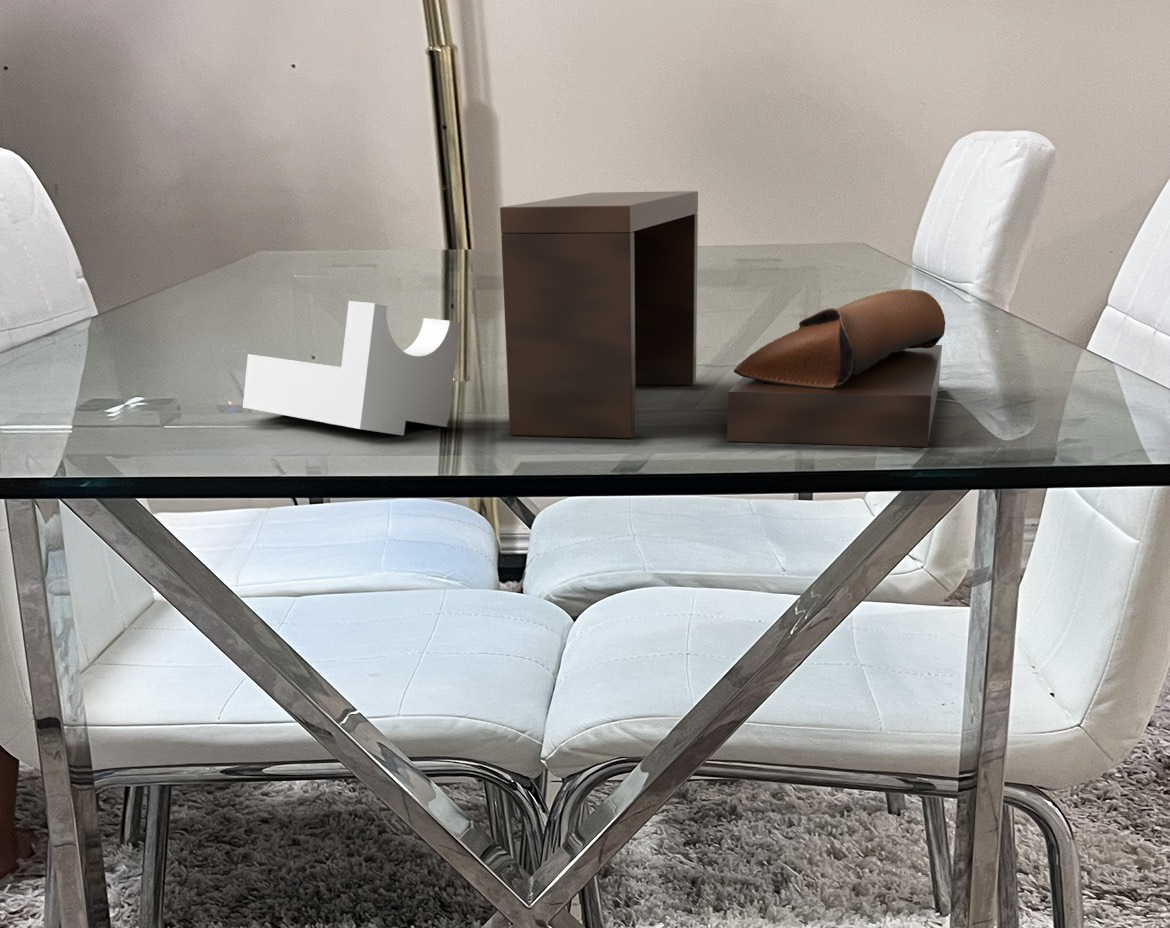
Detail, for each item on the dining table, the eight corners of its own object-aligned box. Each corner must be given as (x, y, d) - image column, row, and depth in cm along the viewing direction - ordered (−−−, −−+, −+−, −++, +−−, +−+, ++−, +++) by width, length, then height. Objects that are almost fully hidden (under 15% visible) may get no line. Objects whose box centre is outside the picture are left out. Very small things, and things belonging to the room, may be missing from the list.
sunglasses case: (829, 337, 102) (880, 254, 98) (906, 393, 100) (961, 311, 96) (725, 373, 88) (779, 278, 84) (813, 439, 86) (873, 345, 82)
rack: (938, 387, 102) (954, 187, 97) (927, 447, 83) (946, 201, 77) (594, 381, 109) (590, 192, 103) (509, 435, 89) (499, 207, 84)
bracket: (444, 441, 93) (460, 323, 91) (359, 429, 87) (374, 303, 86) (326, 419, 101) (339, 311, 99) (242, 407, 96) (254, 292, 94)
